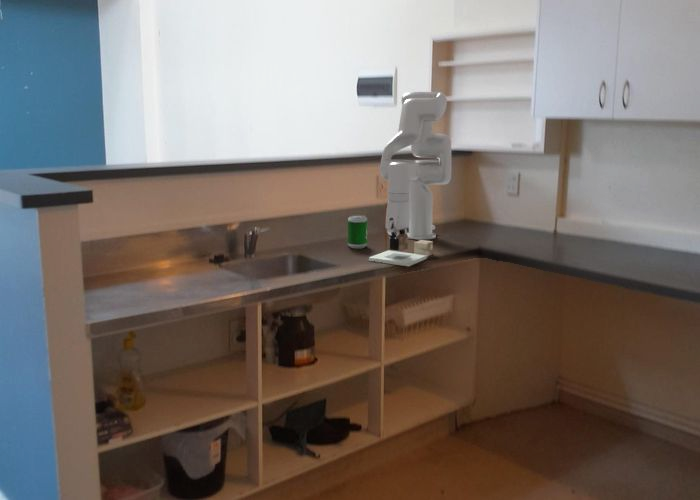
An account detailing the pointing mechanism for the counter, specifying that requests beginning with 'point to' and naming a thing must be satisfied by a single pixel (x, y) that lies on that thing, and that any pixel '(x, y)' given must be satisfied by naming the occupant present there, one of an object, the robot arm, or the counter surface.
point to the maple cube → (423, 247)
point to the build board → (398, 258)
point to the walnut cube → (401, 242)
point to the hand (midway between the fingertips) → (398, 247)
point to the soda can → (357, 231)
